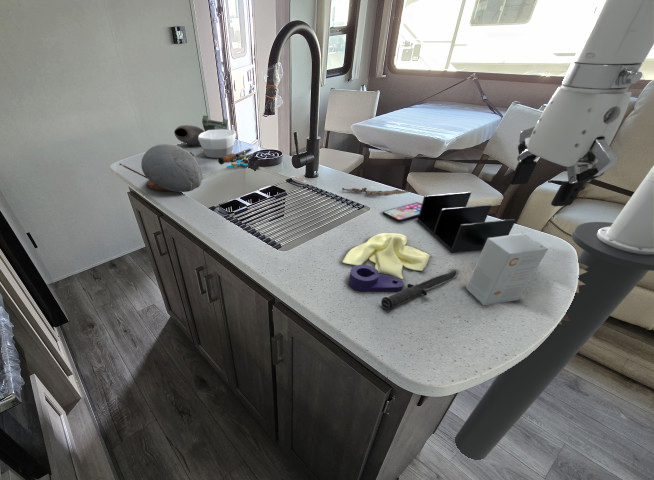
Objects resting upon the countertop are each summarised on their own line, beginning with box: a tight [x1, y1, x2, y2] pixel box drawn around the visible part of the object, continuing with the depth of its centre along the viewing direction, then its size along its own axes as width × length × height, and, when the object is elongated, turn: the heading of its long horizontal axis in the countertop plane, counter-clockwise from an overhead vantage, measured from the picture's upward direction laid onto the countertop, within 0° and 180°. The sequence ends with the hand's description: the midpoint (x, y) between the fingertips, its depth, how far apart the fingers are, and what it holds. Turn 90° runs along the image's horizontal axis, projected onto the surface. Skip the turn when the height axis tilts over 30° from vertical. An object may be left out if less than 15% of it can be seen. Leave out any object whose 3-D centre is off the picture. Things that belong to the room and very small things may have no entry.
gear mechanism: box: [226, 150, 249, 169], centre depth 144 cm, size 20×5×9 cm
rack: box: [416, 191, 517, 254], centre depth 89 cm, size 14×18×8 cm
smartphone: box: [382, 202, 422, 222], centre depth 102 cm, size 8×1×15 cm
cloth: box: [342, 232, 431, 280], centre depth 82 cm, size 22×19×6 cm
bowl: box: [198, 129, 237, 159], centre depth 157 cm, size 18×18×9 cm
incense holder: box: [119, 163, 170, 192], centre depth 129 cm, size 21×30×11 cm
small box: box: [465, 232, 549, 306], centre depth 67 cm, size 8×6×13 cm
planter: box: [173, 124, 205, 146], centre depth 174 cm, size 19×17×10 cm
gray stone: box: [140, 143, 203, 193], centre depth 123 cm, size 23×22×10 cm
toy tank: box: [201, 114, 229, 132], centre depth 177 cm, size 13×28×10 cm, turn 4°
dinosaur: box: [229, 148, 255, 163], centre depth 152 cm, size 4×20×7 cm
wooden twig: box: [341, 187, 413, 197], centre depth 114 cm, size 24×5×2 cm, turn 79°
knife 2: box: [380, 270, 458, 311], centre depth 72 cm, size 24×5×3 cm, turn 114°
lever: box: [348, 264, 405, 293], centre depth 74 cm, size 12×6×3 cm, turn 77°
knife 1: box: [217, 148, 250, 165], centre depth 155 cm, size 25×3×5 cm
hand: (537, 193), depth 57 cm, fingers open, 9 cm apart
